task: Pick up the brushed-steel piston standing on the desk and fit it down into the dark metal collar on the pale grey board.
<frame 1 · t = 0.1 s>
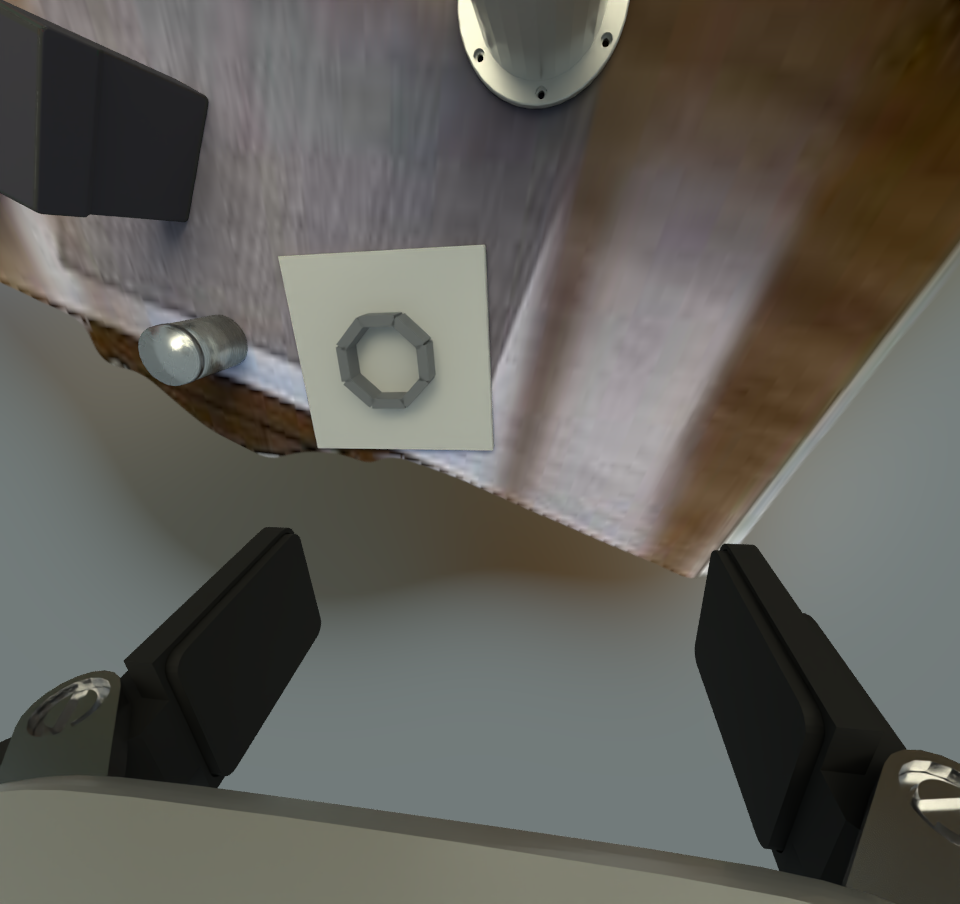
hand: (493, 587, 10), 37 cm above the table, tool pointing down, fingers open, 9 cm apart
piston: (223, 341, 49), on the table
upright black box: (184, 155, 42), on the table
holder: (394, 356, 47), on the table
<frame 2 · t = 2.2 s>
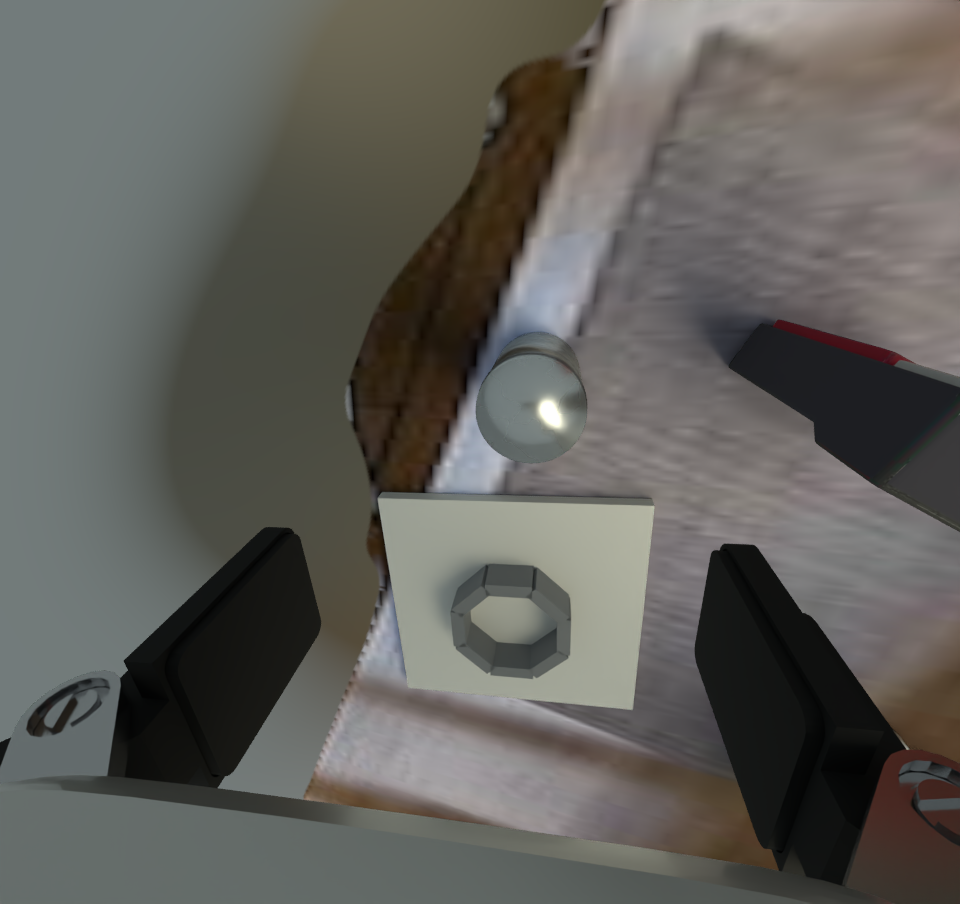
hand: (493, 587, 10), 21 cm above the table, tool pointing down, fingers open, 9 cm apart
piston: (536, 374, 30), on the table
upright black box: (818, 385, 27), on the table
holder: (513, 602, 37), on the table
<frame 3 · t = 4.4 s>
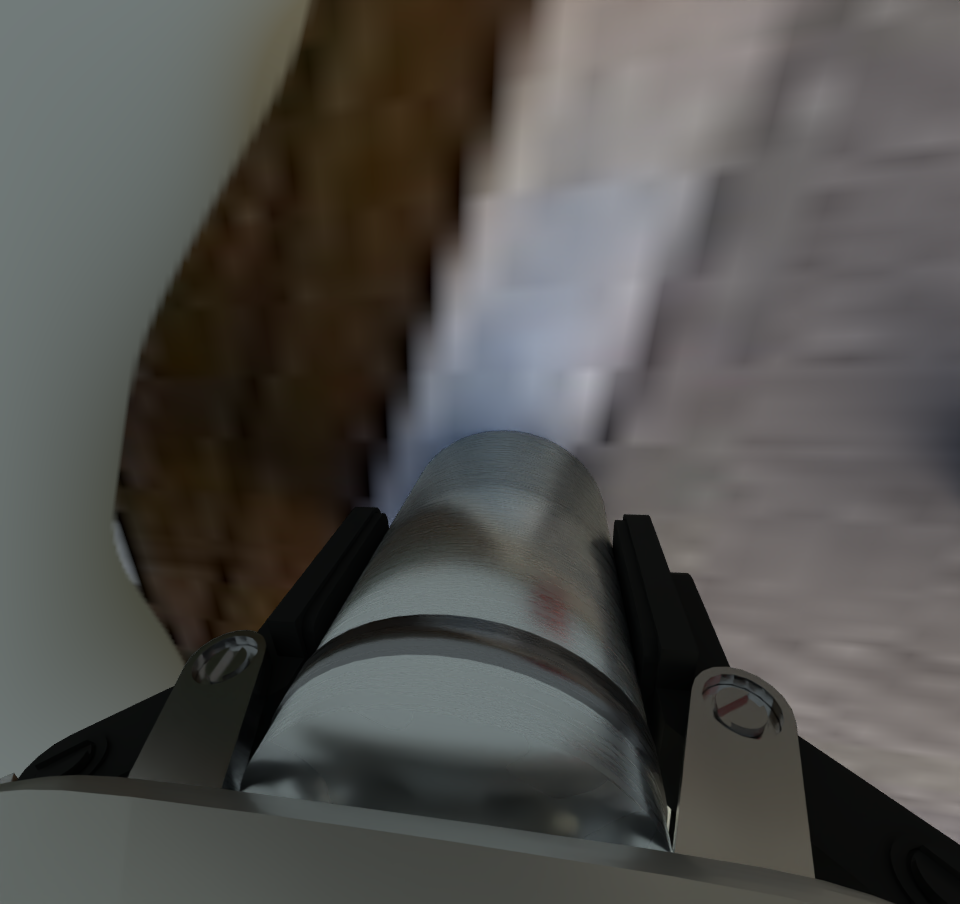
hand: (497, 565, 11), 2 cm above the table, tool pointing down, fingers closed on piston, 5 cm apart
piston: (505, 520, 13), on the table, touching gripper
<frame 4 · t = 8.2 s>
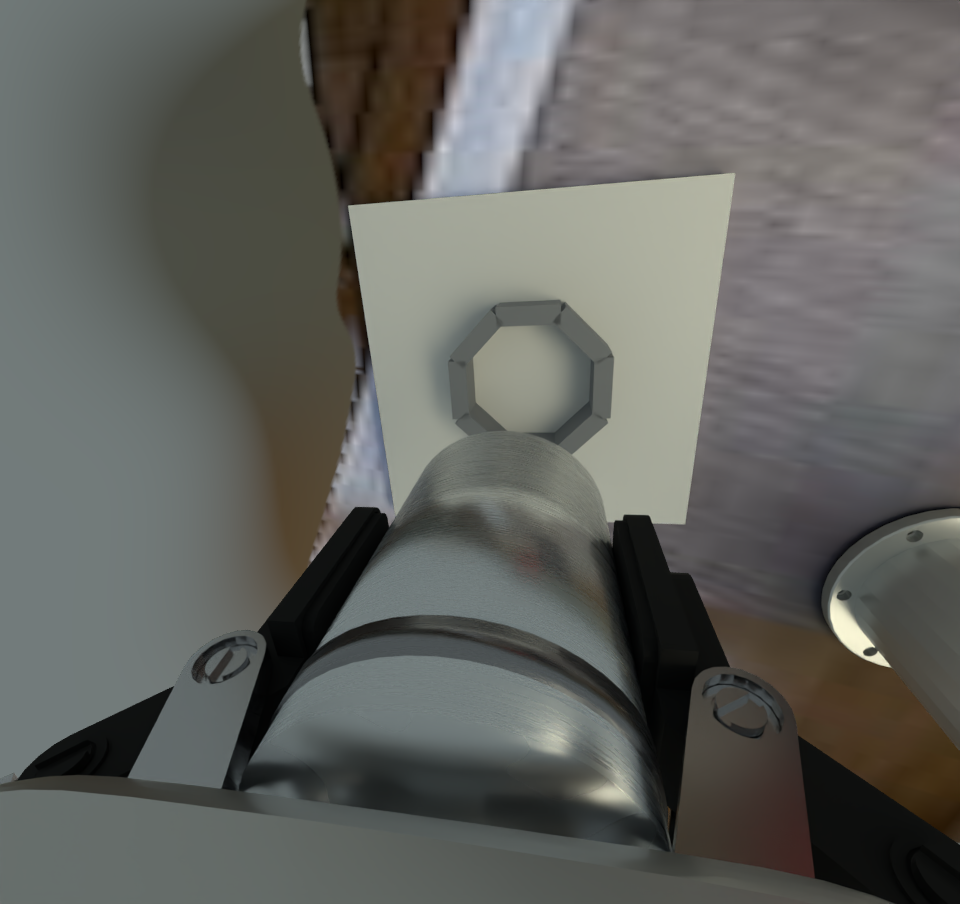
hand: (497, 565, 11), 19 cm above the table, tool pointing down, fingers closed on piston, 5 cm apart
piston: (505, 520, 13), point 17 cm above the table, touching gripper
holder: (531, 374, 28), on the table
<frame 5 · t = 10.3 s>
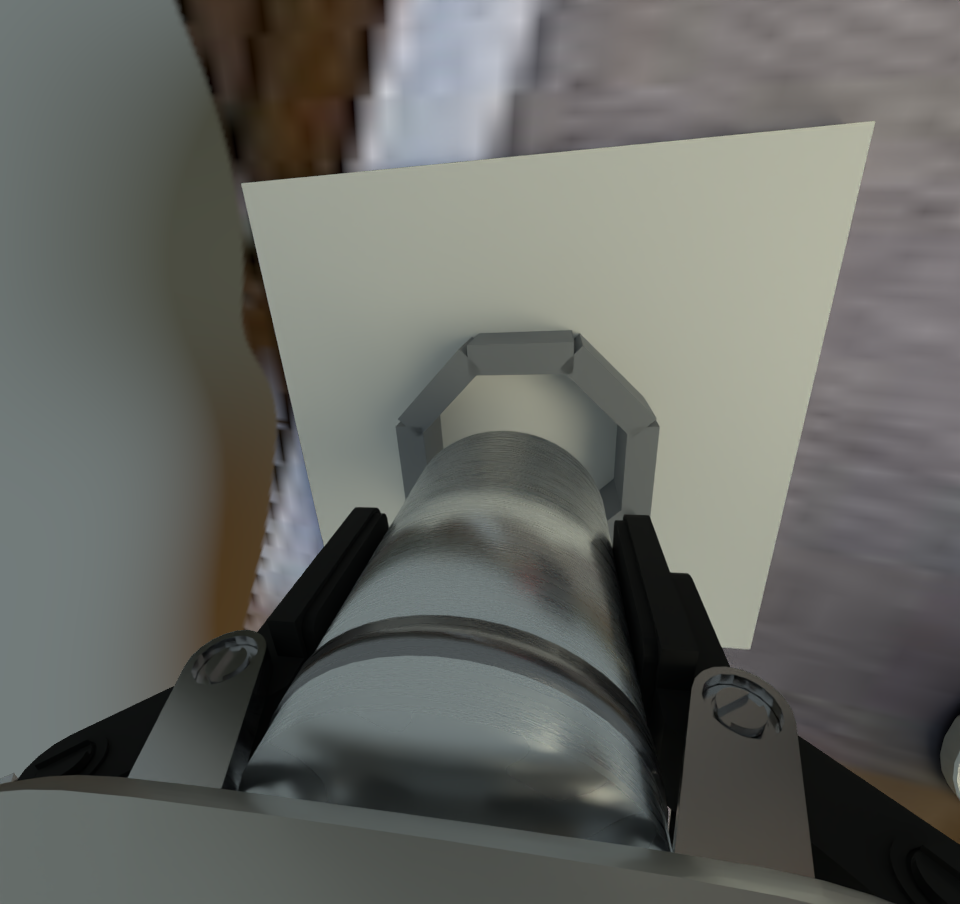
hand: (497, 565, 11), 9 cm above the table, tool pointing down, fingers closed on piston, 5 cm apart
piston: (505, 520, 13), point 7 cm above the table, touching gripper
holder: (528, 436, 19), on the table
when the fingers open (4 cm above the table, at t = 12.0 s): piston drops 1 cm, resting on holder.
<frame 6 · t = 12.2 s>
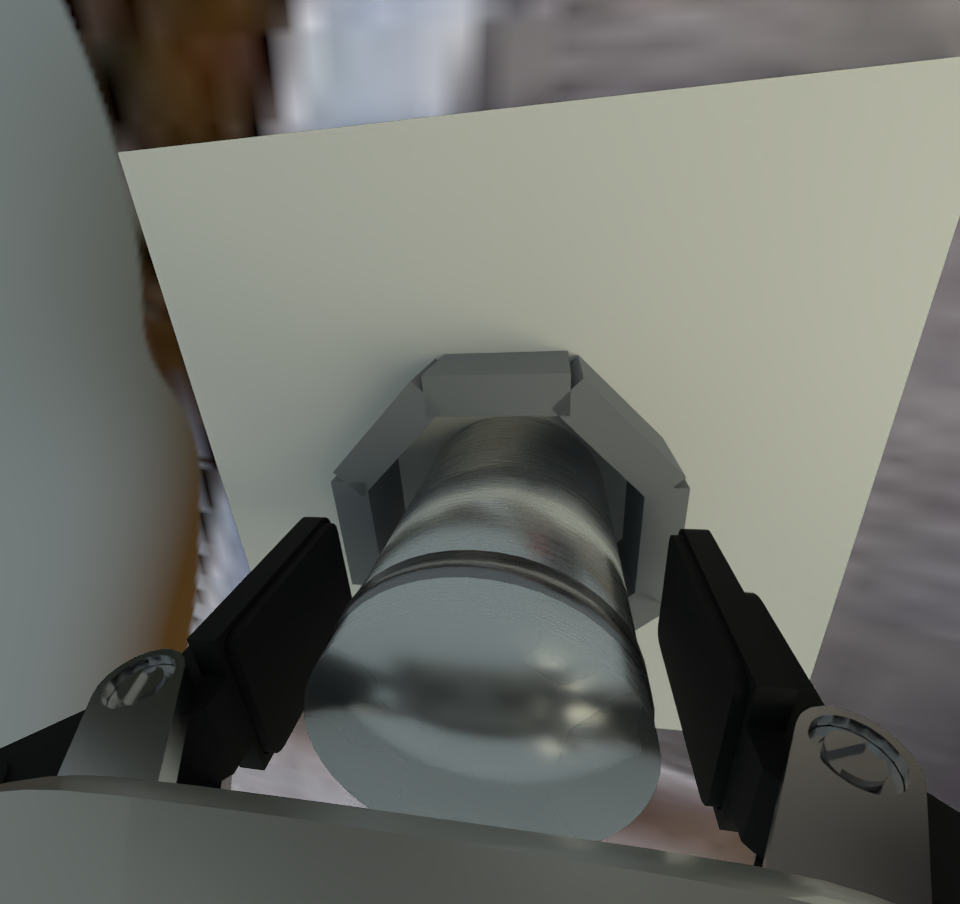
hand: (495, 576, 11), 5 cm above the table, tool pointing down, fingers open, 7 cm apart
piston: (514, 497, 14), point 1 cm above the table, touching holder
holder: (512, 481, 15), on the table
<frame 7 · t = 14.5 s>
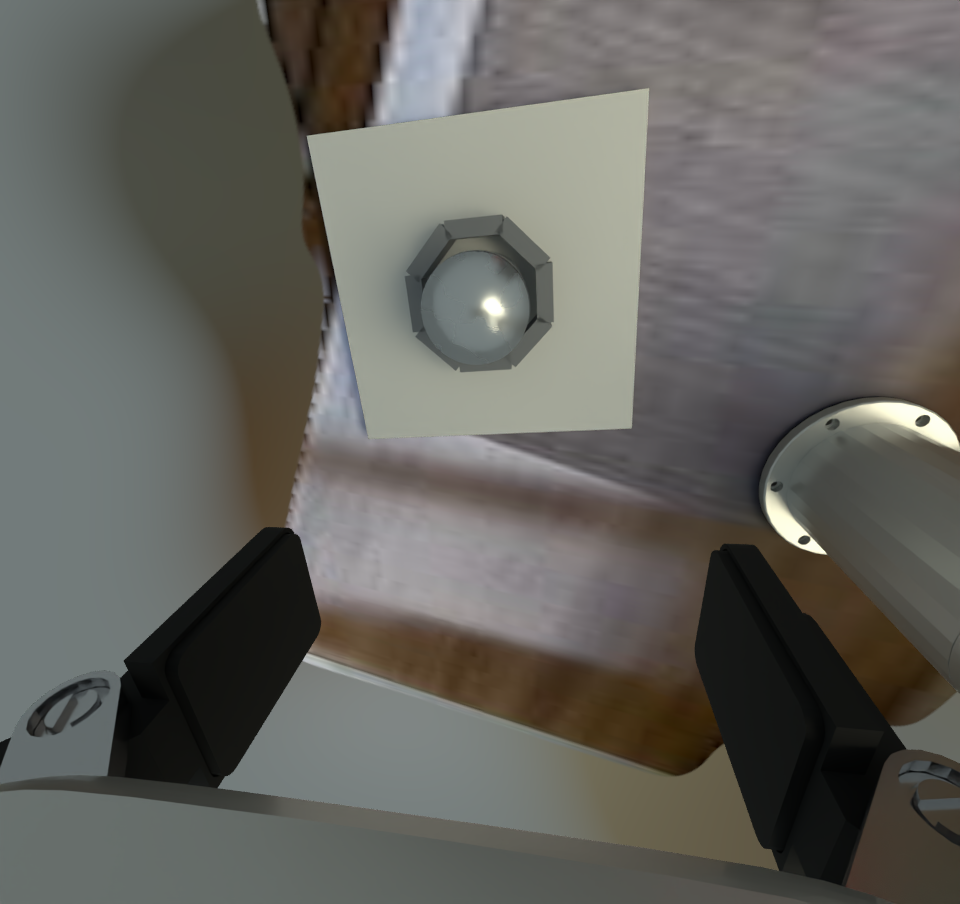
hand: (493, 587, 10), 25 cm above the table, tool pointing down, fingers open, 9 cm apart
piston: (485, 296, 30), point 1 cm above the table, touching holder
holder: (485, 293, 31), on the table
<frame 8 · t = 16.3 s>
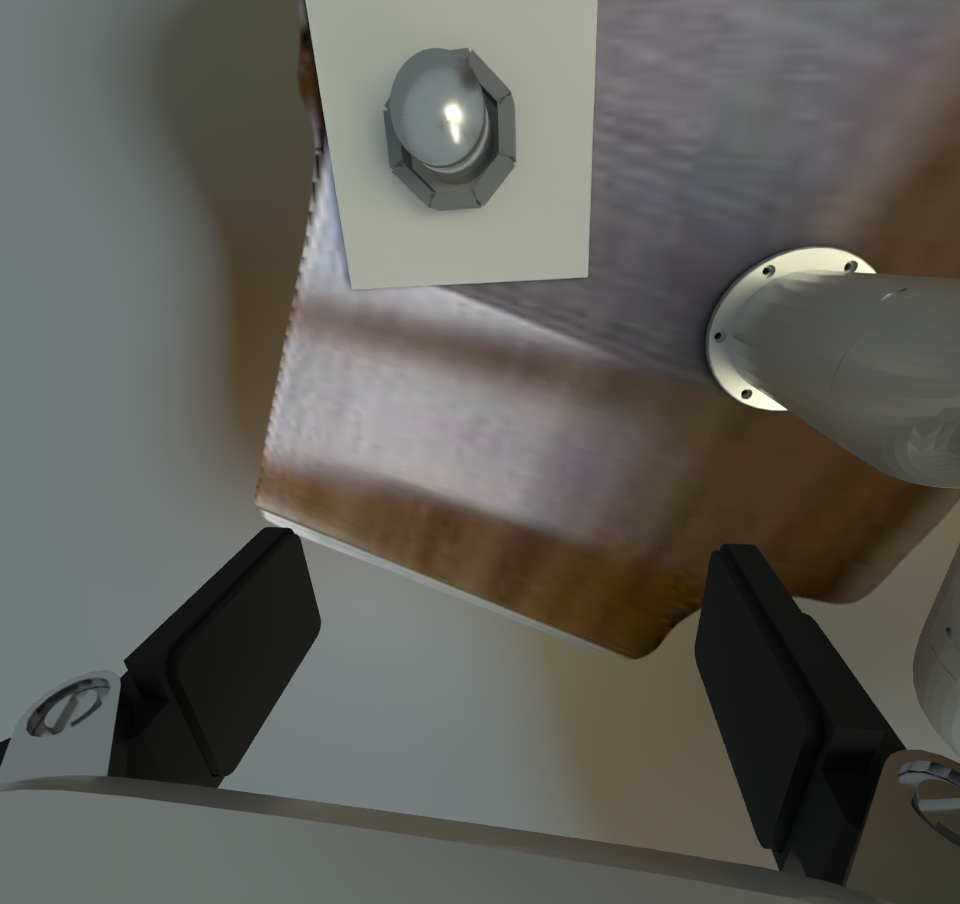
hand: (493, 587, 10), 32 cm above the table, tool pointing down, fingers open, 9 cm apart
piston: (457, 141, 34), point 1 cm above the table, touching holder
holder: (457, 144, 35), on the table
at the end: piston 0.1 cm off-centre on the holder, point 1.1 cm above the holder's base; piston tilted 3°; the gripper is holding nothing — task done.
